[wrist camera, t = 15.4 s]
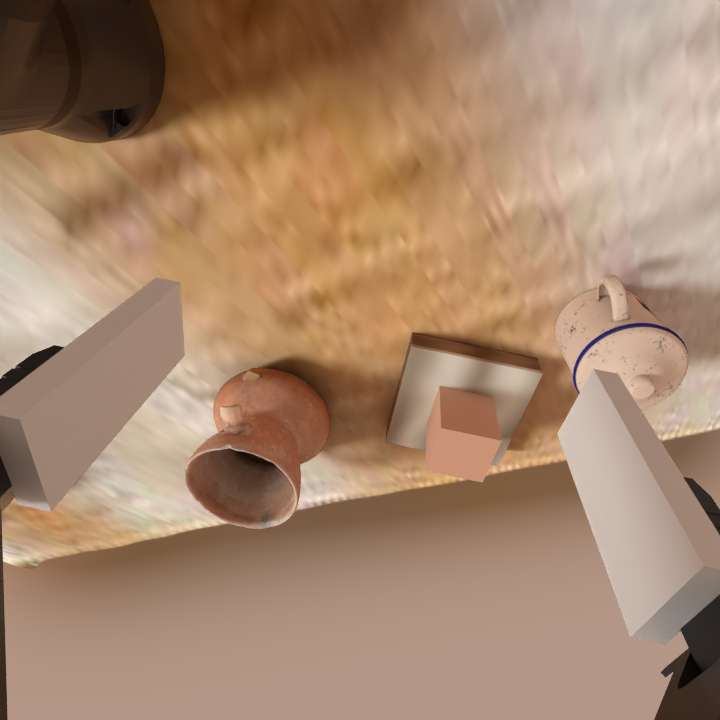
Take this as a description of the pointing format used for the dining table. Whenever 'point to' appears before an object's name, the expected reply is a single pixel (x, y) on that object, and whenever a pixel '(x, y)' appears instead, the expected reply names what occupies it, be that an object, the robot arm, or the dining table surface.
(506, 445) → the plinth
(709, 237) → the dining table surface
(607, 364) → the teacup with lid
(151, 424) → the dining table surface
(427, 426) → the block
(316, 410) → the ceramic jug
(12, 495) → the fruit
